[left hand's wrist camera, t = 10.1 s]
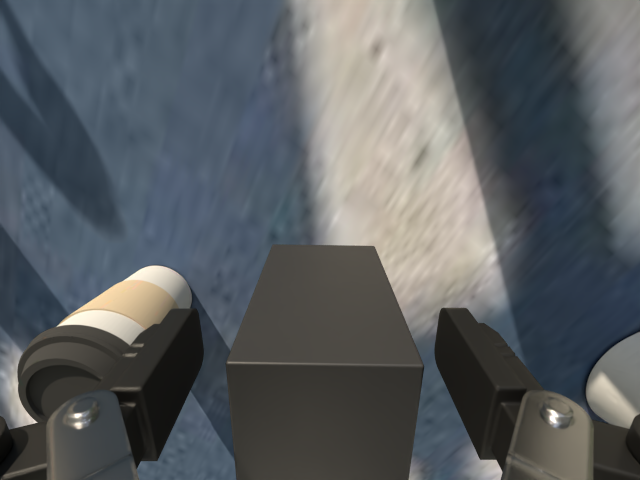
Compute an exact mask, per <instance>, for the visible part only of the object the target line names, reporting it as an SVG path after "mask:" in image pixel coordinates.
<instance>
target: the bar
mask: <svg viewBox="0 0 640 480" xmlns="http://www.w3.org/2000/svg"><path fill="white" fill-rule="evenodd" d="M226 371H227V382H228V393H229V403H230V414H231V425H232V436H233V446H234V457H235V468H236V479H237V480H408V479H409V471H410V464H411V457H412V450H413V443H414V436H415V428H416V421H417V414H418V407H419V400H420V392H421V385H422V378H423V371H424V365H423V362H422V360H421V357H420V355H419V353H418V350H417V348H416V345H415V343H414V341H413V338H412V336H411V333H410V331H409V328H408V326H407V324H406V321H405V319H404V316H403V314H402V312H401V309H400V307H399V304H398V302H397V300H396V297H395V295H394V292H393V290H392V287H391V285H390V283H389V280H388V278H387V275H386V273H385V271H384V268H383V266H382V263H381V261H380V259H379V256H378V254H377V251H376V249H375V247H374V246H336V245H272V247H271V250H270V253H269V255H268V258H267V260H266V263H265V265H264V268H263V270H262V273H261V275H260V278H259V280H258V283H257V285H256V288H255V291H254V293H253V296H252V298H251V301H250V303H249V306H248V308H247V311H246V313H245V316H244V318H243V321H242V324H241V326H240V329H239V331H238V334H237V336H236V339H235V341H234V344H233V346H232V349H231V351H230V354H229V356H228V359H227V362H226Z"/></svg>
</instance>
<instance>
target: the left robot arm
mask: <svg viewBox="0 0 640 480" xmlns="http://www.w3.org/2000/svg"><path fill="white" fill-rule="evenodd" d="M203 355H204V348H203V340H202V333H201V326H200V320H199V313H198V311H197V309H195V308H173V309H171V310H170V311H169V312H168V314H167V315H166V316H165V318H164V319H163V320H162V321H161V323H160V324H153V325H152V326H150V327H149V328H147V329H146V330H144V331H143V332H141V333H140V334H139V335H138V336H137V337H136V339H135V340H134V341H133V342H132V344H131V345H130V347H128V348H127V350H126V351H125V352H124V353H123V355H122V357H120V358H119V359H118V361H117V362H116V363H115V364H114V366H113V367H112V368H111V369H110V371H109V372H108V373H107V374H106V375H105V377H104V378H103V379H102V380H101V382H100V383H99V384H98V385H97V386H96V388H95V389H94V390H93V391H89V392H86V393H83V394H80V395H78V396H75V397H74V398H72V399H70V400H68V401H67V402H65V403H64V404H62V405H61V406H60V407H59V408H58V409H57V410H56V411H55V412H54V413H53V414H52V415H51V417H50V418H49V420H47V421H43V422H39V423H35V424H31V425H27V426H23V427H18V428H14V429H10V430H9V428H8V426H7V424H6V421H5V419H4V418H3V417H1V416H0V480H139V477H138V473H137V470H136V469H137V467H138V465H139V463H140V461H157V460H158V458H159V456H160V454H161V452H162V450H163V448H164V445H165V443H166V441H167V439H168V437H169V435H170V433H171V430H172V428H173V426H174V424H175V422H176V420H177V418H178V415H179V413H180V411H181V409H182V407H183V405H184V403H185V400H186V398H187V396H188V394H189V392H190V390H191V388H192V385H193V383H194V381H195V379H196V377H197V375H198V373H199V370H200V368H201V365H202V362H203ZM435 360H436V364H437V367H438V369H439V371H440V374H441V376H442V378H443V380H444V382H445V384H446V387H447V389H448V391H449V393H450V395H451V397H452V400H453V402H454V404H455V406H456V408H457V410H458V413H459V415H460V417H461V419H462V421H463V423H464V426H465V428H466V430H467V432H468V434H469V436H470V439H471V441H472V443H473V445H474V447H475V449H476V452H477V454H478V456H479V458H480V460H497V462H498V464H499V466H500V468H501V470H502V471H503V473H502V477H501V480H640V414H639V415H637V416H635V417H634V419H633V422H632V424H631V426H630V429H628V428H624V427H620V426H616V425H612V424H607V423H603V422H599V421H595V420H591V418H590V417H589V415H588V414H587V413H586V412H585V411H584V410H583V409H582V408H581V407H580V406H579V405H578V404H576V403H575V402H573V401H572V400H570V399H568V398H566V397H565V396H562V395H560V394H557V393H554V392H551V391H546V390H544V389H543V388H542V386H541V385H540V384H539V383H538V382H537V380H536V379H535V378H534V377H533V375H532V374H531V373H530V372H529V370H528V369H527V368H526V367H525V365H524V364H523V363H522V362H521V360H520V359H519V358H518V357H517V356H515V353H514V352H513V351H512V349H511V348H510V347H508V346H507V343H506V342H505V341H504V339H503V338H502V337H501V336H500V334H499V333H498V332H496V331H495V330H493V329H492V328H490V327H489V326H487V325H486V324H484V323H478V322H477V321H476V320H475V318H474V317H473V316H472V314H471V313H470V312H469V310H468V309H467V308H442V309H441V310H440V314H439V320H438V327H437V334H436V341H435Z"/></svg>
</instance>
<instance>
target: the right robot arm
mask: <svg viewBox="0 0 640 480" xmlns="http://www.w3.org/2000/svg"><path fill="white" fill-rule="evenodd" d="M586 398H587V402H588V404H589V406H590V408H591V409H592V411H593V412H594V413H595V414H596V415H598V416H599V417H601V418H602V419H603V420H605V421H606V422H608V423H609V424H612V425H616V426H620V427H624V428H628V429H630V426H631V424H632V422H633V419H634V417H635V416H637V415H639V414H640V332H638V333H636V334H634V335H632V336H630V337H628V338H626V339H624V340H622V341H621V342H619V343H618V344H616V345H615V346H613V347H612V348H611V349H610V350H609V351H607V352H606V353H605V354H604V355H603V356H602V357H601V358H600V360H599V361H598V362H597V363H596V365H595V366H594V368H593V369H592V371H591V373H590V375H589V378H588V381H587V385H586Z"/></svg>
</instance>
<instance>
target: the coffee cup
mask: <svg viewBox="0 0 640 480" xmlns="http://www.w3.org/2000/svg"><path fill="white" fill-rule="evenodd" d="M191 303H192V294H191V290H190V288H189V285H188V284H187V282H186V281H185V280H184V278H183V277H182V276H181V275H179V274H178V273H177V272H175V271H173V270H171V269H169V268H166V267H162V266H148V267H145V268H142V269H140V270H139V271H137V272H136V273H134V274H133V275H132V276H130V277H129V278H127V279H126V280H124V281H123V282H120V283H118V284H116V285H114V286H113V287H111V288H110V289H108V290H107V291H105V292H104V293H102V294H101V295H99V296H98V297H96V298H95V299H93V300H92V301H90V302H89V303H87V304H86V305H84V306H83V307H81V308H80V309H78V310H77V311H75V312H74V313H72V314H71V315H69V316H68V317H66V318H65V319H64V320H63V321H62V322H61V323H60V324H59V325H58V326H57V327H54V328H51V329H48V330H46V331H44V332H42V333H41V334H39V335H38V336H37V337H35V338H34V339H33V340H32V342H31V343H30V344H29V346H28V347H27V349H26V350H25V351H24V353H23V354H22V356H21V358H20V361H19V364H18V382H19V384H18V393H19V397H20V400H21V403H22V405H23V407H24V408H25V410H26V411H27V412H28V414H29V415H30V416H31V417H32V418H33V419H34V420H35V421H37V422H38V423H39V422H43V421H47V420H49V418H50V417H51V415H52V414H53V413H54V412H55V411H56V410H57V409H58V408H59V407H60V406H61V405H62V404H64V403H65V402H67V401H68V400H70V399H72V398H74V397H75V396H78V395H80V394H83V393H86V392H89V391H93V390H94V389H95V388H96V386H97V385H98V384H99V383H100V382H101V380H102V379H103V378H104V377H105V375H106V374H107V373H108V372H109V371H110V369H111V368H112V367H113V366H114V364H115V363H116V362H117V361H118V359H119V358H120V357H122V355H123V353H124V352H125V351H126V350H127V348H128V347H130V345H131V344H132V342H133V341H134V340H135V339H136V337H137V336H138V335H139V334H140V333H141V332H143V331H144V330H146V329H147V328H149V327H150V326H152V325H153V324H160V323H161V321H162V320H163V319H164V318H165V316H166V315H167V314H168V312H169V311H170V310H171V309H173V308H190V306H191Z"/></svg>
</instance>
